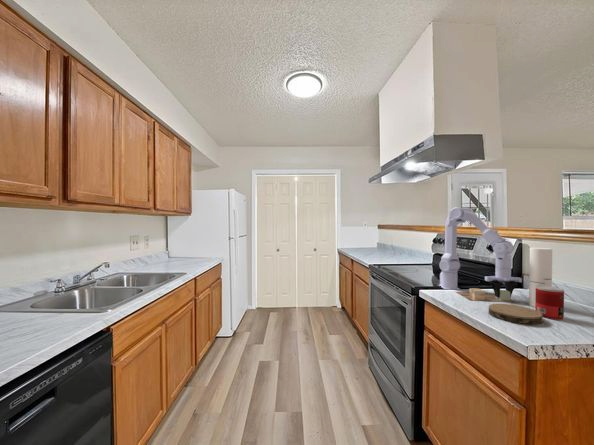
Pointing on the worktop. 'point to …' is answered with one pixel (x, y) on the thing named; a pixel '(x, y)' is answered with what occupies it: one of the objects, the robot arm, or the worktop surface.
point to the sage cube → (504, 295)
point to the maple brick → (477, 294)
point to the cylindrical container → (539, 271)
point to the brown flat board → (488, 297)
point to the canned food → (550, 302)
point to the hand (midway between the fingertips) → (502, 297)
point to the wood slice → (515, 314)
